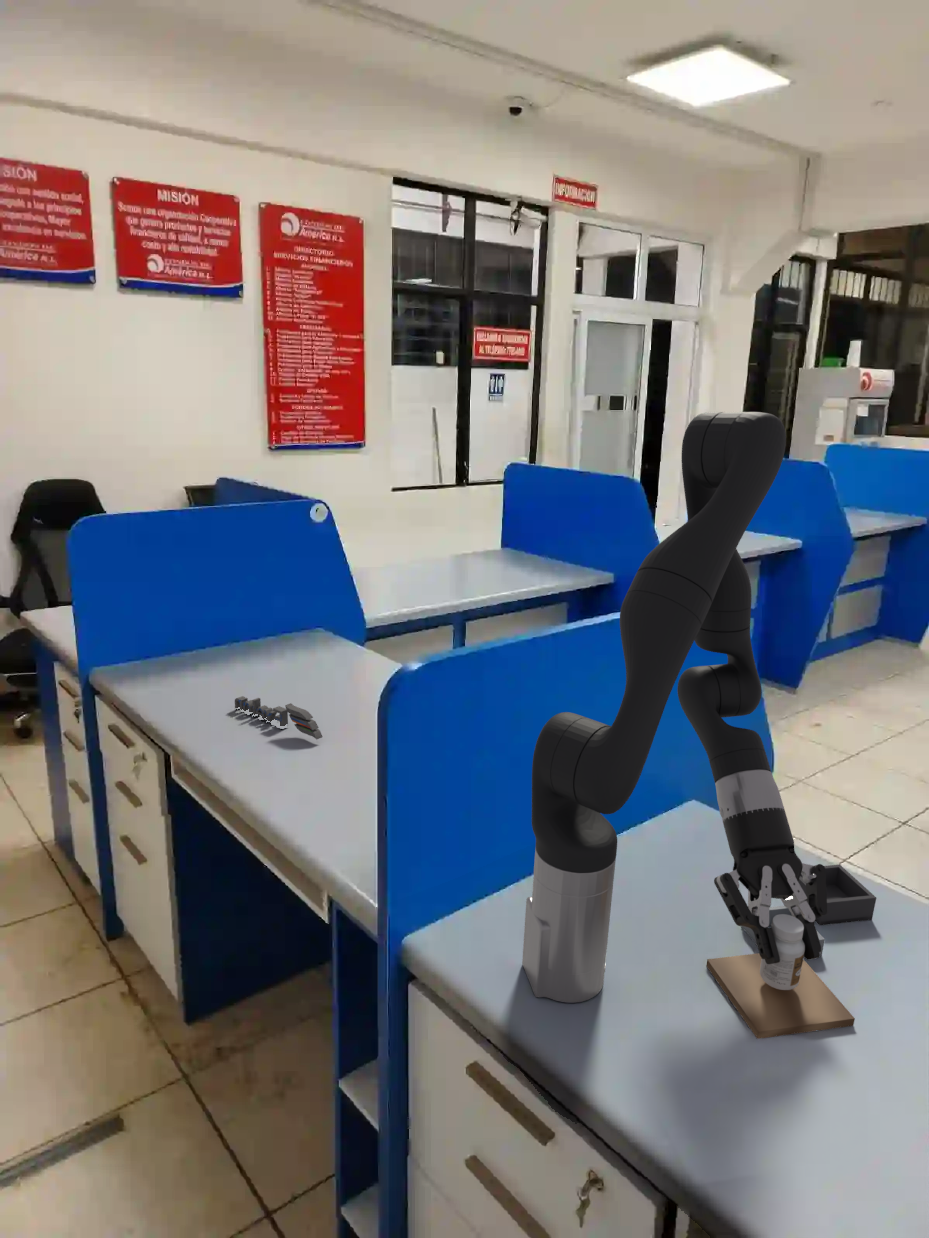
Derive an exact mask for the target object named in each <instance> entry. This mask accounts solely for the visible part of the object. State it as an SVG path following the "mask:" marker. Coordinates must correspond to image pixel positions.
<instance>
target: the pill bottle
mask: <svg viewBox="0 0 929 1238" xmlns="http://www.w3.org/2000/svg"><path fill="white" fill-rule="evenodd" d="M770 928H772V931H773V934H774V938H775V942H776V946H777V949H778V953H779V957H780V962H779V963H775V964H767V963H766V962H765V959H762V960H761V966H760V975H761V977H762V979H763V980H764V981H765V982H766V983H767V984H768V985H770V986H771V987H773V988H776V989H780V990H791V989H794V988H796V987H797V986H798V984H799V979H800V973H801V968H802V962H803V959H804V958H803V957H804V952H805V944H804V942H803V940H802V936H803V931H804V926H803V924H802V922H801V921H800V920H799V919H797V918H795V917H793V916H791V915H787V914H779V915H776V916H774V918H773V920H772V925H771V926H770Z"/></svg>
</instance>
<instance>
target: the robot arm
mask: <svg viewBox="0 0 929 1238" xmlns="http://www.w3.org/2000/svg"><path fill="white" fill-rule="evenodd" d="M786 434H787V433H786V429H785V425H784V423H783V422H782V420H781V419H780V418H779V417H777V416H776V415H774V414H772V413H768V412H761V411H708V412H703V413H699V414H698V415H696V416H695V417H694V418H692V419H691V421H690V422H689V423H688V425H687V427H686V429H685V432H684V435H683V438H682V444H681V471H682V472H681V473H682V482H683V490H684V498H685V499H684V500H685V507H686V515H687V521H686V522H685V523H684V524H683V525H681V526H680V527H679V528H677V529H676V530H675V531H673V532H672V533H671V534H670V535H668V536H667V537H666V538H665V539H663V540H662V541H661V542H659V544H657V545H656V546H655V547H654V548H653V549H652V550H651V551H650V552H649V553H648V554H647V555H646V556H645V557H644V559H643V561H642V562H641V564H640V565H639V568H638V569H637V571H636V573H635V575H634V577H633V579H632V581H631V583H630V586H629V588H628V590H627V592H626V594H625V597H624V598H623V601H622V603H621V606H620V611H619V629H620V631H619V632H620V639H621V645H622V652H623V658H624V664H625V688H624V693H623V696H622V700H621V703H620V706H619V709H618V712H617V714H616V716H615V718H614V720H613V722H612V724H611V725H608V724H606V723H603V722H601V721H598V720H595V719H592V718H589V717H586V716H583V715H580V714H577V713H574V712H569V711H564V712H559V713H556V714H555V715H553V716H551V718H549V719H548V721H546V723H545V724H544V725H543V727H542V729H541V731H540V732H539V735H538V737H537V739H536V743H535V746H534V750H533V751H534V752H533V755H532V757H533V758H532V764H531V765H532V766H531V828H532V832H533V834H534V836H535V848H534V849H535V850H534V851H535V852H534V861H533V862H534V864H533V865H534V866H533V877H532V878H533V880H532V892H531V893H532V895H531V896H528V897H526V901H525V902H526V904H525V913H524V914H525V918H524V932H523V944H522V945H523V947H522V959H521V960H522V962H521V963H522V967H523V969H524V972H525V974H526V977H527V979H528V982H529V984H530V987H531V989H532V992H533V994H534V996H535V997H536V998H548V999H550V1000H553V1001H557V1002H562V1003H574V1004H575V1003H582V1002H584V1001H589V1000H590V999H592V998H595V996H597V995H598V994H599V993H600V992H601V990H602V989H603V985H604V982H605V981H604V980H605V973H606V962H607V952H608V951H607V950H608V941H609V933H610V920H611V911H612V902H613V900H612V899H613V892H614V891H613V889H614V880H615V870H616V869H615V868H616V860H617V852H618V851H617V850H618V836H617V832H616V830H615V828H614V826H613V825H612V824H611V822H610V821H609V820H608V819H607V818H606V817H605V816H604V815H612V814H615V813H616V812H618V811H620V810H621V809H622V808H623V807H624V805H625V804H626V803H627V801H629V799H630V797H631V796H632V794H633V792H634V790H635V788H636V786H637V784H638V782H639V779H640V777H641V775H642V772H643V769H644V766H645V765H646V762H647V759H648V756H649V754H650V750H651V747H652V745H653V742H654V739H655V736H656V734H657V731H658V728H659V725H660V723H661V720H662V716H663V713H664V711H665V708H666V705H667V702H668V700H669V697H670V695H671V692H672V690H673V688H674V685H675V683H676V681H677V679H678V676H679V675H680V677H679V679H678V682H677V689H676V690H677V691H676V692H677V697H678V700H679V705H680V706H681V709H682V711H683V712H684V715H685V717H686V718H687V720H688V721H689V723H690V725H691V726H692V728H693V729H694V731H695V733H696V735H697V737H698V739H699V741H700V742H701V745H702V747H703V748H704V750H705V752H706V755H707V758H708V762H709V765H710V769H711V774H712V777H713V782H714V784H715V790H716V799H717V804H718V808H719V814H720V817H721V820H722V823H723V827H724V831H725V835H726V839H727V844H728V848H729V852H730V855H731V856H732V858H733V867H732V871H729V872H724V873H722V874H720V875H718V876H716V877H714V879H713V883H714V885H715V887H716V889H717V891H718V894H719V895H720V896H721V898H722V901H723V902H724V904H725V906H726V908H727V910H728V912H729V914H730V916H731V918H732V920H733V922H734V924H736V926H738V927H742V926H745V927H749V928H751V929H752V930H753V932H754V935H755V939H756V943H757V945H756V946H757V949H758V953H759V954H760V956H761V958H762V959H765V962H766V963H767V964H775V963H779V962H780V957H779V953H778V949H777V946H776V942H775V938H774V934H773V931H772V928H771V927H770V926H769V908H770V907H772V899H777V900H778V899H779V900H781V902H782V904H783V906H785V907H786V908H788V909H789V910H790V912H791V914H792V916H793V917H795V918H797V919H799V920H800V921H801V922H802V924H803V926H804V931H803V936H802V940H803V942H804V944H805V952H804V957H805V958H804V960H807V961H809V960H815V959H818V958H820V957H821V956H820V954H819V952H821V945H820V942H819V938H818V934H817V931H818V930H817V928H816V922H815V920H816V919H817V918H819V917H821V916H823V915H826V914H827V892H826V870H825V867H824V866H825V865H823V864H821V863H819V864H816V865H813V864H808V863H803V861H802V860H801V859H800V858H799V856H798V855H797V853H796V850H795V841H794V837H793V835H792V829H791V827H790V823H789V820H788V817H787V813H786V810H785V806H784V804H783V799H782V797H781V793H780V790H779V788H778V785H777V782H776V781H775V778H774V776H773V773H772V770H771V766H770V763H769V760H768V755H767V752H766V750H765V747H764V746H765V745H764V743H763V740H762V737H761V736H760V734H759V733H758V732H757V731H755V730H753V729H749V728H745V727H738V726H732V725H730V724H728V723H727V722H726V721H725V720H724V719H723V718H733V717H741V716H742V717H744V716H747V715H750V714H752V713H753V712H754V711H756V709H757V708H758V707H759V704H760V702H761V698H762V691H763V690H762V685H761V680H760V676H759V673H758V669H757V665H756V662H755V657H754V651H753V646H752V640H751V615H752V586H751V585H752V584H751V580H750V577H749V573H748V571H747V567H746V566H745V563H744V561H743V559H742V558H741V555H740V553H739V551H738V549H737V548H738V545H739V544H740V541H741V540H742V538H743V536H744V533H745V532H746V530H747V528H748V526H749V525H750V523H751V521H752V520H753V518H754V517H755V515H756V513H757V511H758V509H759V508H760V506H761V504H762V502H763V501H764V499H765V498H766V496H767V494H768V493H769V490H770V489H771V487H772V486H773V483H774V482H775V479H776V477H777V475H778V473H779V471H780V469H781V466H782V463H783V459H784V455H785V452H786V442H787V435H786ZM694 643H695V644H696V646H697V647H698V648H700V650H701V649H702V650H703V651H708V652H711V653H717V654H723V655H724V654H725V655H726V656H727V663H723V664H722V663H721V664H712V665H698V666H692V667H688V668H687V669H685V670H684V671H683V672H682V674H680V672H681V670H682V667H683V666H684V663H685V662H686V661H685V660H686V659H687V657H688V655H689V652H690V651H691V649H692V646H693V644H694ZM801 874H802V876H803V881H804V882H805V883H806V895H807V896H806V895H805V893H804V891H803V889H802V888H801V886H800V884H799V883H798V881H799V878H800V875H801ZM739 882H740V883H741V885H743V886H744V887H745V888H746V889H747V891H748V892H747V903H746V900H745V898H744V897H743V895H742V893H741V890H740V889H739V888H740V883H739ZM792 894H793V896H791V895H792ZM816 930H817V931H816Z"/></svg>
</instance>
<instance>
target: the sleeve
mask: <svg viewBox="0 0 929 1238" xmlns="http://www.w3.org/2000/svg"><path fill="white" fill-rule="evenodd" d="M779 914H787V915H791V916H792V914H791V912H790V910H789V909H788V908H786V907H785V906H784V905H777V906H770V908H769V926H768V927H771V925H772V920H773V918H774V916H776V915H779ZM741 928H742V929H743V930H744V931H745V933H746V934H747V935H748V936H749V938H750V939H751V940H752V941H753V942H754V943H755V945H756V946H757V943H756V939H755V935H754V932H753V930H752V929H751V928H749V927H745V926H741ZM816 931H817V934H818V938H819V942H820V945H821V952H819V954H820V956H819V957H822V956H823V952H824V951H823V950H824V946H825V940H826V939H825V938H824V936H822V934H820V932H818V930H817V929H816ZM803 959H805V957H803Z"/></svg>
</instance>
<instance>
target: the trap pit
mask: <svg viewBox="0 0 929 1238" xmlns="http://www.w3.org/2000/svg"><path fill="white" fill-rule="evenodd" d="M823 866H824V867H825V870H826V892H827V914H826V915H823V916H821V917H819V918H817V919H816V920H815V924H817V925H818V926H819V927H821V926H829V925H830V926H831V925H836V924H837V925H838V924H845V923H847V924H848V923H856V922H867V921H873V916H874V912H875V907H876V902H877V897H876V896H875V894H873V893H872V892H871V891H870V890H869V889H867V888H866V887H865V886H864V884H862V883H861V882H860V881H858V879H856V878H855V877H854V876H853V875H852V874H851V873H850V872H849V871H848V870H846V868H844V867H843V866H842V865H841V864H830V865H823ZM798 883H799V884H800V886H801V888H802V889H803V891H804V893H805V895H806V883H805V882H804V881H803V876H802V874H801V875H800V878H799V881H798ZM791 896H793V894H792V895H791ZM806 896H807V895H806Z"/></svg>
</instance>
